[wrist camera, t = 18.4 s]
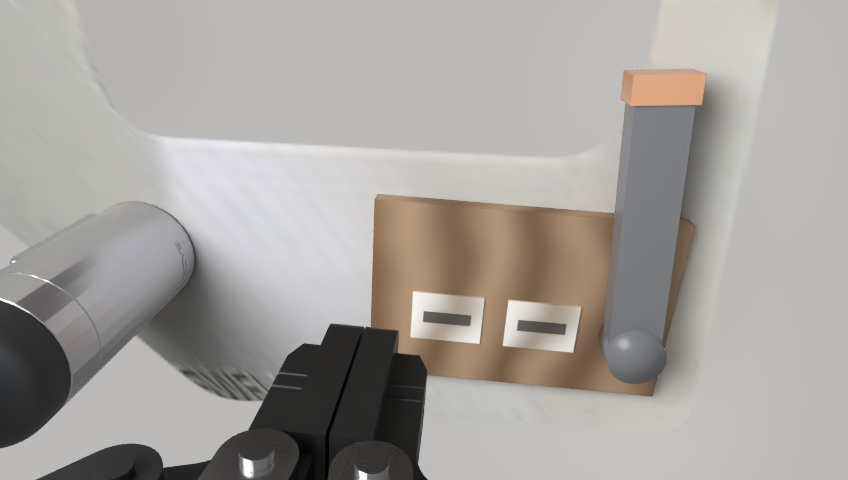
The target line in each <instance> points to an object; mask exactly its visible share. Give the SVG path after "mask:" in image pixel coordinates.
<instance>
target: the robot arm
mask: <svg viewBox="0 0 848 480" xmlns="http://www.w3.org/2000/svg"><path fill="white" fill-rule="evenodd" d="M193 269H194V252H193V247H192V244H191V242H190V240H189V237H188V235H187V234H186V232H185V231H184V229H183V228H182V226H181V225H180V224H179V223H178V222H177V221H176V220H175V219H174V218H173V217H171V216H170V215H168V214H167V213H166V212H164V211H162V210H160V209H158V208H156V207H154V206H152V205H148V204H144V203H137V202H127V203H120V204H118V205H115V206H113V207H110V208H109V209H107V210H105V211H103V212H102V213H100V214H98V215H88V216H86V217H84V218H82V219H81V220H79V221H77V222H75V223H73V224H72V225H70V226H68V227H66V228H64V229H63V230H61V231H59V232H57V233H55V234H54V235H52V236H50V237H48V238H46V239H45V240H43V241H41V242H39V243H38V244H36V245H34V246H32V247H30V248H29V249H27V250H25V251H23V252H21V253H20V254H18V255H16V256H14V257H13V258H12V259H11V261H10V265H8V266H7V267H5V268H3V269H2V270H0V448H4V447H8V446H11V445H14V444H16V443H19V442H21V441H23V440H25V439H27V438H28V437H30V436H31V435H33V434H34V433H36V432H37V431H38V430H39V429H41V428H42V427H43V426H44V425H45V424H46V423H47V422H48V421H49V420H50V419H51V418H52V417H53V416H54V415H55V414H56V413H57V412H58V411H59V410H60V409H61V408H62V407H63V406H64V405H65V404H66V403H67V402H68V401H69V400H70V399H71V398H72V397H73V396H74V395H75V394H76V393H77V392H79V391H80V389H81V388H82V387H84V385H86V384H87V383H88V382H89V381H90V379H91V378H92V377H93V376H94V375H96V374H97V372H99V370H101V369H102V368H103V367H104V366H105V365H106V364H107V363H108V362H109V361H110V360H111V359H112V358H113V357H114V356H115V355H116V354H117V353H118V352H119V351H120V350H121V349H122V348H123V347H124V346H125V345H126V344H127V343H128V342H129V341H130V340H131V339H132V338H133V337H134V336H135V335H136V334H137V333H138V332H139V331H140V330H141V329H142V328H143V327H144V326H145V325H146V324H147V323H148V322H149V321H150V320H151V319H152V318H153V317H154V316H155V315H156V314H157V313H158V312H159V311H160V310H161V309H162V308H163V307H164V306H165V305H166V304H167V303H168V302H169V301H170V300H171V299H172V298H173V297H174V296H175V295H176V294H177V293H178V292H179V291H180V290H181V289H182V288H183V287H184V286H185V285H186V284H187V283H188V281H189V280H190V278H191V276H192V273H193ZM398 345H399V330H391V329H382V328H372V327H366V328H365V329H364V327H361V326H351V325H341V324H330V326H329V328H328V330H327V332H326V334H325V337H324V339H323V341H322V343H321V345H314V344H305V343H304V344H303V345H301V346H300V347H299V348H297V349H296V350H295V351H293V352H292V353H291V354H289V355H288V356H287V358H286V360H285V361H284V363H283V365H282V367H281V369H280V371H279V374H278V375H277V377H276V379H275V380H274V382H273V386H272V387H271V388H270V390H269V392H268V394H267V396H266V398H265V399H264V401H263V403H262V406H261V407H260V409H259V411H258V413H257V415H256V416H255V418H254V420H253V422H252V424H251V426H250V428H249V430H248V431H245V432H242V433H239V434H237V435H235V436H233V437H232V438H230V439H228V440H227V441H226V442H225V443H224V444H222V446H221V447H220V448H219V449H218V450H217V452H216V453H215V455H214V456H213V458H212V459H211V460H209V461H206V462H201V463H197V464H189V465H181V466H174V467H166V468H163V462H162V459H161V456H160V455H159V453H158V452H156V451H155V450H154V449H152V448H151V447H148V446H145V445H140V444H121V445H116V446H112V447H109V448H105V449H103V450H100V451H98V452H96V453H93V454H91V455H89V456H87V457H85V458H82V459H81V460H78V461H76V462H74V463H72V464H70V465H67V466H65V467H63V468H61V469H58V470H56V471H54V472H52V473H50V474H48V475H46V476H43V477H41V478H39V479H37V480H427V479H426V477H424V475H423V474H422V472H421V470H420V468H419V466H418V459H419V451H420V444H421V435H422V426H423V416H424V404H425V392H426V381H427V369H426V367H425V365H424V363H423V361H422V359H421V357H420V355H411V354H402V353H398Z"/></svg>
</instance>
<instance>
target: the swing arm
mask: <svg viewBox="0 0 848 480" xmlns="http://www.w3.org/2000/svg"><path fill="white" fill-rule="evenodd" d="M705 81H706V73H703V72H699V71H696V70H693V69H671V70H625V71H624V72H623V83H622V93H621V100H622V101H624V102H625V103H626V104H625V114H624V124H623V134H622V144H621V154H620V165H619V175H618V185H617V195H616V205H615V215H614V225H613V235H612V245H611V256H610V266H609V276H608V286H607V296H606V306H605V316H604V324H603V325H602V326H601V328H600V331H599V342H600V345H601V348H602V351H603V354H604V356H605V359H606V362H607V364H608V367H609V370H610V372H611V373H612V375H613V376H614V377H615V378H617V379H618V380H620V381H622V382H625V383H629V384H641V383H645V382H648V381H650V380H652V379H654V378H655V377H656V376H658V375H659V374H660V373H661V371H662V370H663V368H664V366H665V363H666V353H665V350H664V348H663V346H662V340H663V333H664V326H665V319H666V312H667V305H668V298H669V291H670V284H671V277H672V270H673V263H674V256H675V249H676V242H677V235H678V228H679V221H680V214H681V207H682V200H683V193H684V186H685V179H686V172H687V165H688V158H689V151H690V144H691V137H692V130H693V123H694V116H695V109H696V105H702V101H703V94H704V87H705Z"/></svg>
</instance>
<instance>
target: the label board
mask: <svg viewBox="0 0 848 480" xmlns="http://www.w3.org/2000/svg"><path fill="white" fill-rule="evenodd" d="M614 215H615V214H614V213H602V212H590V211H577V210H565V209H553V208H541V207H528V206H516V205H504V204H492V203H480V202H467V201H455V200H443V199H431V198H419V197H406V196H394V195H382V194H377V196H376V198H375V206H374V240H373V274H372V308H371V327H372V328H382V329H391V330H399V345H398V353H402V354H411V355H420V357H421V359H422V361H423V363H424V365H425V367H426V369H427V375H437V376H447V377H458V378H468V379H478V380H488V381H499V382H509V383H519V384H530V385H540V386H550V387H561V388H571V389H581V390H591V391H602V392H612V393H622V394H633V395H643V396H652V395H653V391H654V387H655V383H656V379H657V376H656V377H655V378H654V379H652V380H650V381H648V382H645V383H641V384H629V383H625V382H622V381H620V380H618V379H617V378H615V377H614V376H613V375H612V373H611V372H610V370H609V367H608V364H607V362H606V359H605V356H604V354H603V351H602V348H601V345H600V342H599V331H600V328H601V326H602V325H603V324H604V316H605V306H606V296H607V286H608V276H609V266H610V256H611V245H612V235H613V225H614ZM694 228H695V226H694V225H693V224H692V223H691V222H690V221H689V220H687V219H680V221H679V228H678V235H677V242H676V249H675V256H674V263H673V270H672V277H671V284H670V291H669V298H668V305H667V312H666V319H665V326H664V333H663V340H662V346H663V348H665V344H666V340H667V336H668V332H669V328H670V324H671V320H672V316H673V312H674V308H675V304H676V300H677V296H678V292H679V288H680V284H681V280H682V276H683V272H684V268H685V264H686V260H687V256H688V252H689V248H690V244H691V240H692V236H693V232H694Z"/></svg>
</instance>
